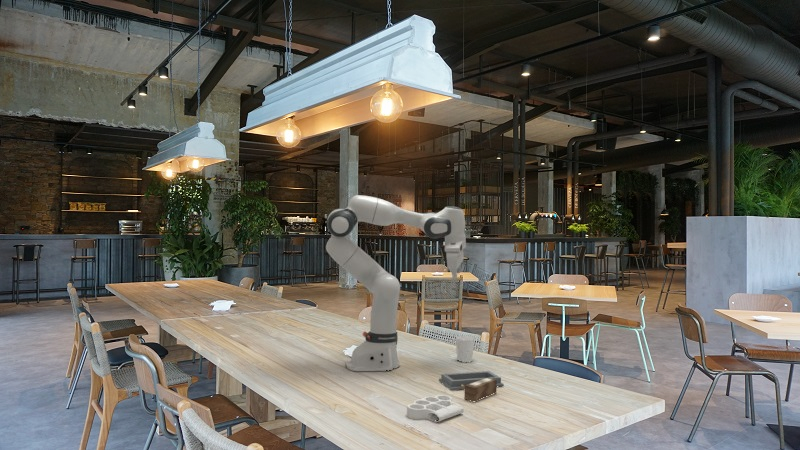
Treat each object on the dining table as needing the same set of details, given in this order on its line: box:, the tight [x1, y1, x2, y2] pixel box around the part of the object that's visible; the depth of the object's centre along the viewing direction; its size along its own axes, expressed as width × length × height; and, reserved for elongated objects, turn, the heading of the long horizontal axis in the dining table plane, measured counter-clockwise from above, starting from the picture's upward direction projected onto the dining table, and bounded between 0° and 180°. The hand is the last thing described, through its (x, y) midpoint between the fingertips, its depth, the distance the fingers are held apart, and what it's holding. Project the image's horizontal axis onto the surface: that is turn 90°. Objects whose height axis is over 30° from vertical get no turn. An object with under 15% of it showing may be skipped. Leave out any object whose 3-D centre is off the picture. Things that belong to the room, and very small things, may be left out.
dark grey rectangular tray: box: [438, 370, 505, 391], centre depth 190 cm, size 21×12×3 cm, turn 108°
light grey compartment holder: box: [406, 394, 464, 423], centre depth 158 cm, size 3×18×15 cm
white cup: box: [455, 336, 475, 363], centre depth 225 cm, size 8×8×10 cm
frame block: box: [464, 378, 498, 402], centre depth 176 cm, size 14×4×5 cm, turn 138°
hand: (456, 275), depth 217 cm, fingers open, 8 cm apart
